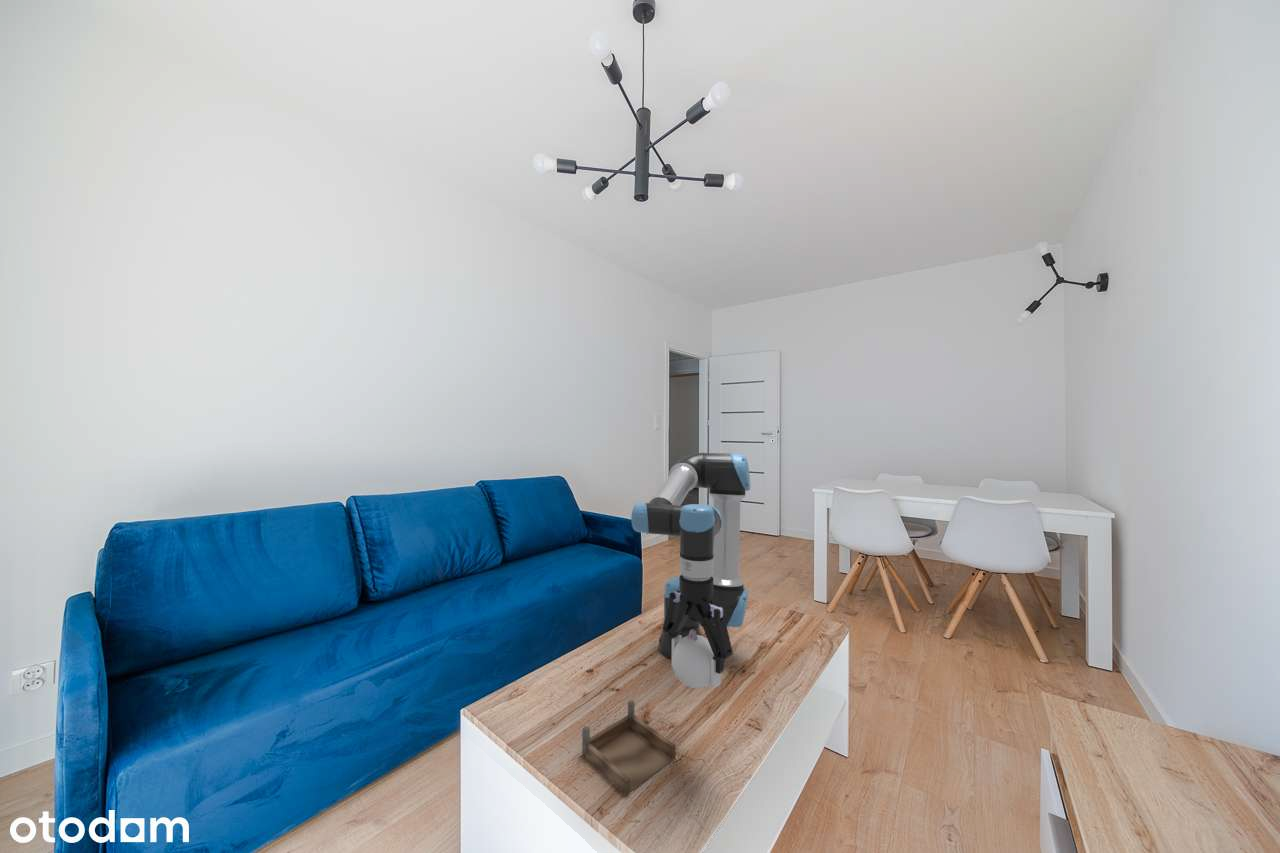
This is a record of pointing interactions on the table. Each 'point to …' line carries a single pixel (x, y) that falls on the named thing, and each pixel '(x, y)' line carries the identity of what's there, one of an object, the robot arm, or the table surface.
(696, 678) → the ornament
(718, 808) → the table surface
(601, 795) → the table surface
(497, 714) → the table surface
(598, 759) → the keeper
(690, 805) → the table surface
